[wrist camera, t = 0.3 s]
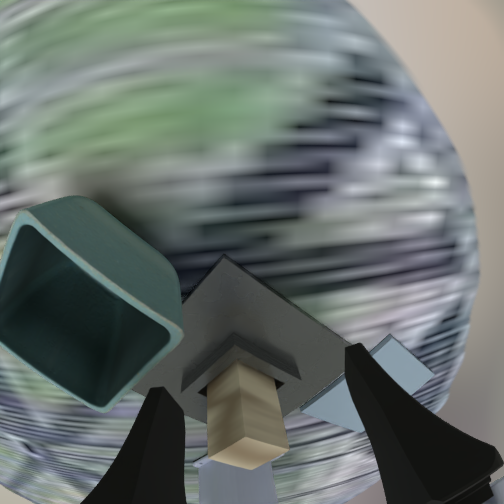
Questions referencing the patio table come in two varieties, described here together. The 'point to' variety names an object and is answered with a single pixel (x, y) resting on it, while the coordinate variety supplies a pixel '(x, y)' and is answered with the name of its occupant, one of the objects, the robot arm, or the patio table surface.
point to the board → (338, 396)
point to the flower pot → (86, 300)
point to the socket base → (245, 342)
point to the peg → (244, 417)
